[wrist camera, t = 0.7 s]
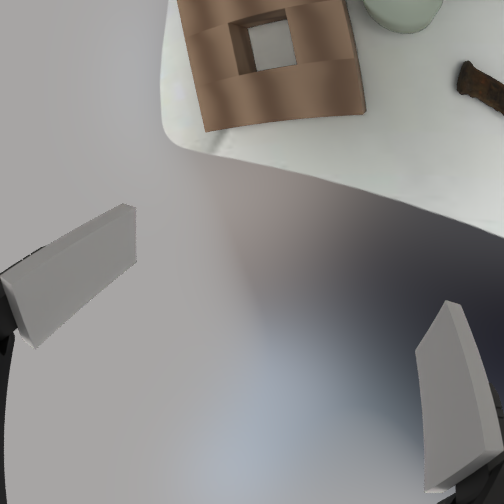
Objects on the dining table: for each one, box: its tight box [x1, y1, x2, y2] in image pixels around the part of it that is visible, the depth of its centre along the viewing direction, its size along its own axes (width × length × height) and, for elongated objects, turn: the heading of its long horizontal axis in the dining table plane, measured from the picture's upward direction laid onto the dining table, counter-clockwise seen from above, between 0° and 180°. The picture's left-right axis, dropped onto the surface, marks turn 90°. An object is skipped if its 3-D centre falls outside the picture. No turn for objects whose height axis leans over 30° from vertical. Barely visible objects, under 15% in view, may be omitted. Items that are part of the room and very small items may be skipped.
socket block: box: [177, 0, 366, 132], centre depth 28 cm, size 18×18×5 cm
